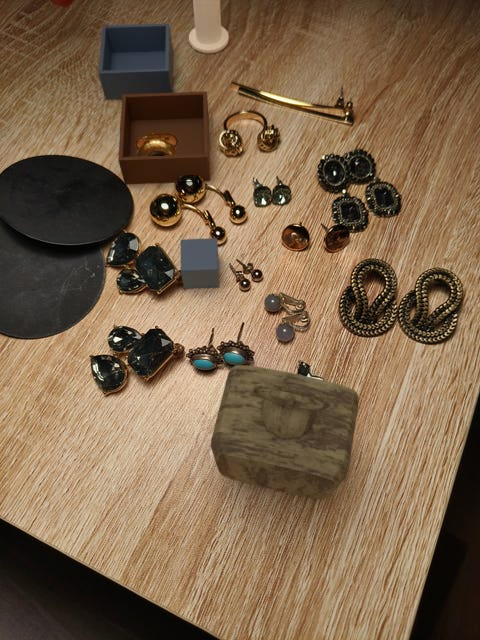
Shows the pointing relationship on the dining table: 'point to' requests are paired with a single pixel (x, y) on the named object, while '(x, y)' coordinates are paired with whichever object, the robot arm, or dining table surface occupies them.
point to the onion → (62, 2)
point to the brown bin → (172, 117)
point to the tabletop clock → (284, 431)
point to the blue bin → (136, 60)
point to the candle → (208, 27)
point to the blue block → (200, 263)
